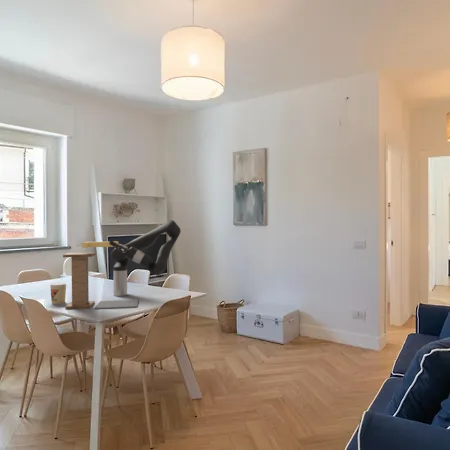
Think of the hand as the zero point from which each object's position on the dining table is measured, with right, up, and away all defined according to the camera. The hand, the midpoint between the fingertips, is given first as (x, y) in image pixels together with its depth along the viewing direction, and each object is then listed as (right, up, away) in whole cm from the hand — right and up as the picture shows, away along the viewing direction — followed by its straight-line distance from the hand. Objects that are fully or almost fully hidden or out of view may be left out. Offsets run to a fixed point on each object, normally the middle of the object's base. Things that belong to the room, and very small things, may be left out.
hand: (110, 241), depth 239 cm
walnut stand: (-18, -39, -2) cm, 43 cm away
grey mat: (+4, -39, +1) cm, 39 cm away
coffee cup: (-35, -39, +8) cm, 53 cm away
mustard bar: (-6, -3, -1) cm, 6 cm away
